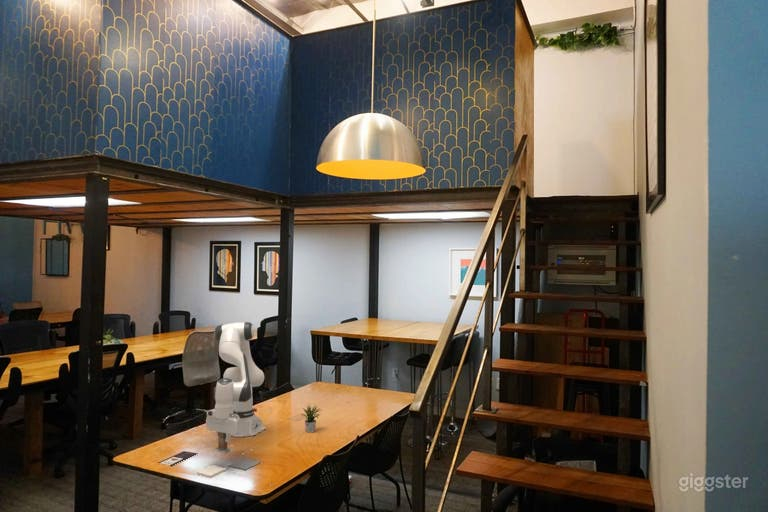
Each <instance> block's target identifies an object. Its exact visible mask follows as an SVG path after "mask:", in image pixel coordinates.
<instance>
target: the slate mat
mask: <svg viewBox="0 0 768 512" xmlns="http://www.w3.org/2000/svg"><path fill="white" fill-rule="evenodd" d="M257 464H258V465H260V464H261V461H259V460H253V459H251V458H250V459H249V458H241V459H239V460H237V461H234V462H233V463H230V464H229V465H228V468H229V467H230V468H234V469H238V470H242V471H248V470H250V469H252V468H254V467H255V466H257Z"/></svg>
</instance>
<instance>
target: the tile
mask: <svg viewBox="0 0 768 512" xmlns="http://www.w3.org/2000/svg"><path fill="white" fill-rule="evenodd" d="M226 471H227V468H226V467H221V466H218V465H214V464H212V465H209V466H207V467H204V468H202V469H200V470H198V471H196V474H197V476H200V475H201V477H203V476H204V478H207V479H212V478H215V477H216V476H218V474H219V475H221V474H222V472H223V473H225V472H226ZM220 473H221V474H220Z"/></svg>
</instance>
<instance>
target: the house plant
mask: <svg viewBox="0 0 768 512" xmlns="http://www.w3.org/2000/svg"><path fill="white" fill-rule="evenodd" d="M310 404H311V403H309V405H308V404H307V405H306V408H303V407H302V409H303V411H304V412H305V413H306V414H304V413H301V414H300V415H301V416H304V417H305V418H306V419H304V425H305V427H304V428H305V432H306V431H307V432H306V433H309V432H311V433H313V432H312V431H314V432H315V431H316V426H317V425H316V424H317V420H316V419H315V418H317V419H318V420H319V416H321V413H318V412H321V411H323V409H321V407H320V408H318V405H316V404H314V406H313V407H311V405H310ZM313 415H314V416H313Z"/></svg>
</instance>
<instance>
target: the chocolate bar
mask: <svg viewBox="0 0 768 512" xmlns="http://www.w3.org/2000/svg"><path fill="white" fill-rule="evenodd" d="M196 454H197V455H199V454H198V452H192V451H186V450H184V451H181V452H179V453H176V454H174V455H172V456H170V457H168V458H166V459H163V460H161V461H159V462H157V464H158V463H161V464H166V465H165V466H167V465H170V466H169V467H174V466H176V465H178V464H180V463H182V462H184V461H183V460H185V461H186V459H187V460H189V459H191V458H193V457H195V456H197V455H196ZM194 455H195V456H194ZM192 456H193V457H192ZM190 457H191V458H190ZM188 458H189V459H188ZM181 461H182V462H181ZM179 462H180V463H179ZM177 463H178V464H177ZM161 464H160V465H161ZM175 464H176V465H175ZM173 465H174V466H173Z"/></svg>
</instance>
